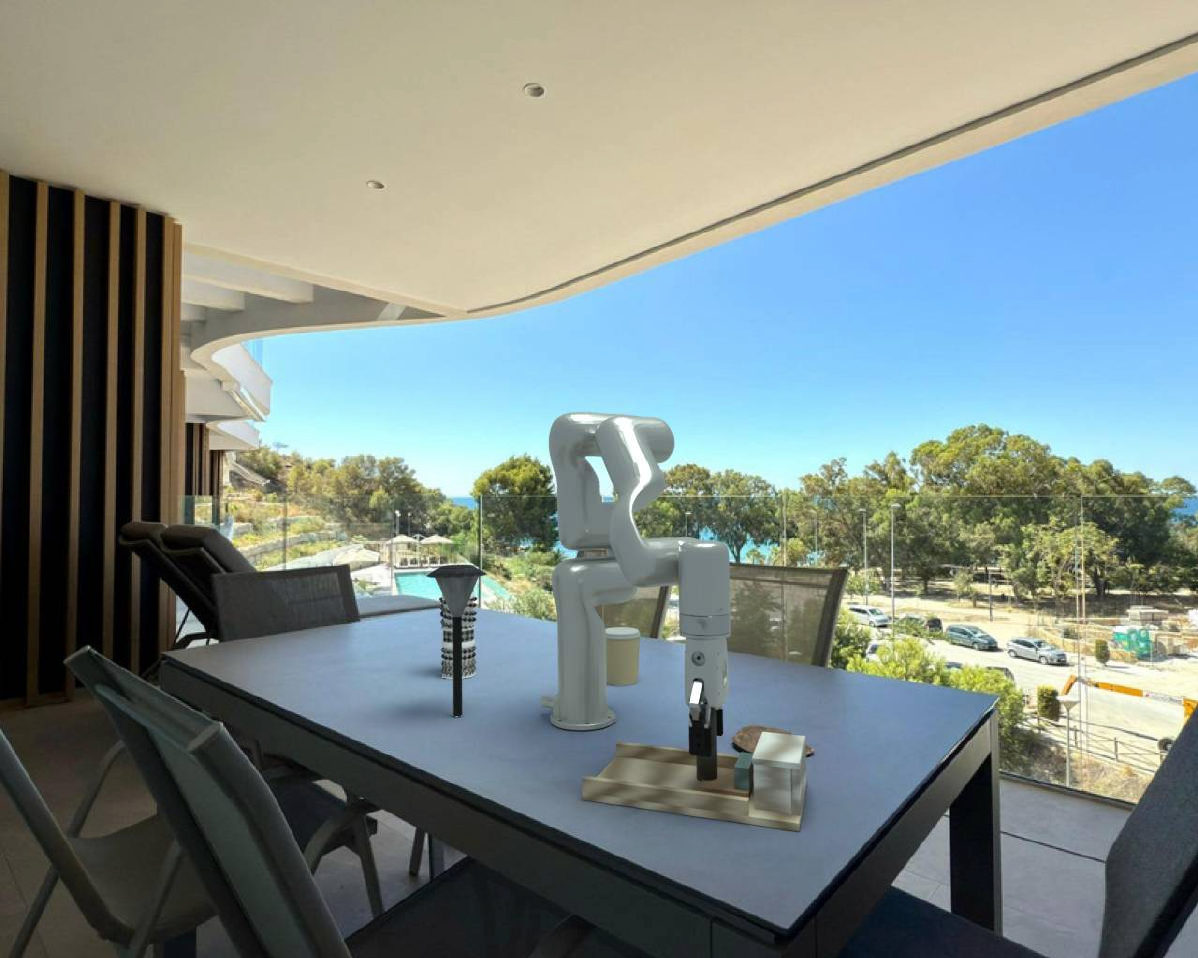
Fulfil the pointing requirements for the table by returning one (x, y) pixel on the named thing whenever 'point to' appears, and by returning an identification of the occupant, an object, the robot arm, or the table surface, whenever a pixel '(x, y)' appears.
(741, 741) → the shell
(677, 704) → the table surface
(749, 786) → the kicker
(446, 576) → the solar garden light
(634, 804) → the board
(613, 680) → the coffee cup
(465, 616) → the decorative candle
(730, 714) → the table surface
